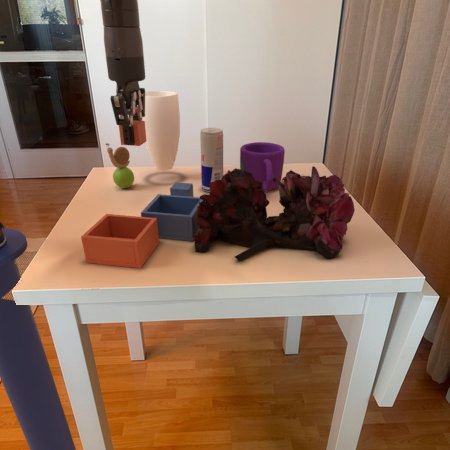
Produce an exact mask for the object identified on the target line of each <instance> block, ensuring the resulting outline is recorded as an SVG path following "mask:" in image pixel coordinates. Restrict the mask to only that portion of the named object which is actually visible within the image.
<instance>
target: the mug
mask: <svg viewBox="0 0 450 450" xmlns="http://www.w3.org/2000/svg"><path fill="white" fill-rule="evenodd" d="M285 153H286V150H285V147H284V146H282V145H281V144H278V143H273V142H265V141H263V142H262V141H256V142H248V143H245V144H243V145H241V147H240V149H239V169H242V170H245V171H246V172H248V173H252V175H253V177H254V179H255V181H261V182H262V187H261V190H263V191H264V193H269V192H270V191H272V190H275V189H276V188H279V186H278V185H277V183H276V182H273V181H272V177H276V178H278V179H279V180H280V182H282V178H283V177H282V176H283V171H284V163H285Z"/></svg>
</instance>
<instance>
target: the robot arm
mask: <svg viewBox="0 0 450 450" xmlns="http://www.w3.org/2000/svg"><path fill="white" fill-rule="evenodd" d="M99 1H100V10H101V19H102V26H103V45H104V52H105V61H106V70H107V76H108V80H110V81H112V82H115V83H116V89H115V90H116V91H115V93H116V94H115V95H110V98H109V100H110V103H111V104H110V105H111V107H112V112H113V114H114V115H113V116H114V119H115V124H116V126H119V125H120V126H121V127H122V130H123V138H124V144H125V145H124V146H131V145H134V144H135V141H134V131H133V120H137V121H142V120H143V118H142V117H145V92H146V88H145V87H140V83H139V82H142V81H144V80H145V79H146V67H145V56H144V43H143V37H142V31H141V22H140V12H139V11H140V9H139V1H138V0H99ZM2 228H3V229H4V228H5V225H4V224H3V223H2V222H1V221H0V249H1V248H2V247H4V246H5V244H6V242H7V240H6V237H5V235H4V233H3V230H2ZM4 230H5V229H4Z"/></svg>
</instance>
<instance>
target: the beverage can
mask: <svg viewBox="0 0 450 450" xmlns="http://www.w3.org/2000/svg"><path fill="white" fill-rule="evenodd" d="M223 131H224V130H223V129H222V128H220V127H204V128H201V129H200V133H199V135H200V136H199V137H200V171H201V172H200V173H201V175H200V176H201V190H203V191H204V192H207V193H210V187H209V183H210V182H214V181H216V180H221V179H222V177H223V176H224V132H223Z"/></svg>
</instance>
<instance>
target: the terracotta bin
mask: <svg viewBox="0 0 450 450" xmlns="http://www.w3.org/2000/svg"><path fill="white" fill-rule="evenodd" d="M80 239H81V243H82V248H83V253H84V258H85V262H86V263H87V264H95V265H96V264H97V265H105V266H106V265H107V266H115V267H116V266H117V267H126V268H132V269H133V268H135V269H141V268H142V267H143V265H144V264H145V263H146V261H147V260H148V259H149V257H150V256H151V254H152V253H153V252H154V251H155V249H156V248H157V247H158V245H159V244H160V238H159V235H158V224H157V218H149V217H141V216H139V215H138V216H137V215H136V216H135V215H124V214H114V213H106V214H104V215H103V216H102V217H101V218H100V219H99V220H97V222H96V223H94V224H93V225H92V226H91V227H90V228H89V229H87V231H86V232H84V233H83V234H82V235H81V237H80Z"/></svg>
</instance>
